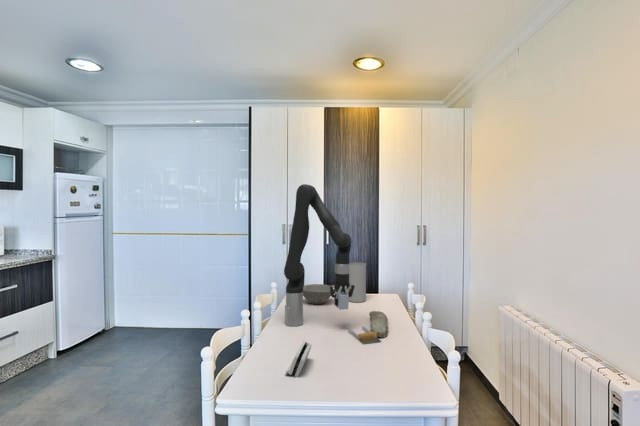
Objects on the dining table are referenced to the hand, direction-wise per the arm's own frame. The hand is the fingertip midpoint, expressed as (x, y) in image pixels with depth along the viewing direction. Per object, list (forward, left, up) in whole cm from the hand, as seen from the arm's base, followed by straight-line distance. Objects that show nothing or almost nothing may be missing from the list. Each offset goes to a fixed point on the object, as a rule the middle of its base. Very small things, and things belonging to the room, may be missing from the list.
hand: (341, 305), depth 176 cm
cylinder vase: (+31, +49, -13) cm, 59 cm away
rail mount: (+6, -13, -12) cm, 19 cm away
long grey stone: (+20, -2, -13) cm, 24 cm away
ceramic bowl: (+4, +52, -13) cm, 53 cm away
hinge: (-32, -34, -13) cm, 48 cm away
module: (0, 0, -1) cm, 1 cm away
